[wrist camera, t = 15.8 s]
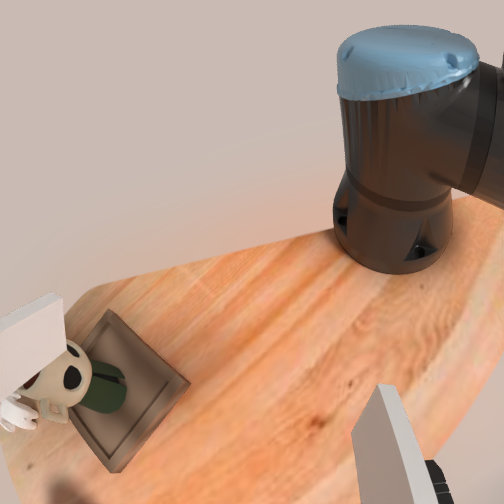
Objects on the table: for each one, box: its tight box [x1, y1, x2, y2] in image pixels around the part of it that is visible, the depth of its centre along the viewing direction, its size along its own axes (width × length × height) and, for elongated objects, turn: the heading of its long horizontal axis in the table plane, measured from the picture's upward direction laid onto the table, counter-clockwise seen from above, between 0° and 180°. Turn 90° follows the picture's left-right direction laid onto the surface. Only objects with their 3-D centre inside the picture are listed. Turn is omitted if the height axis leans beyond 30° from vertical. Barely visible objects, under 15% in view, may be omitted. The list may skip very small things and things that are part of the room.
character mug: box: [16, 339, 127, 424], centre depth 25 cm, size 11×7×13 cm, turn 20°
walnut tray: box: [67, 309, 191, 473], centre depth 30 cm, size 15×15×2 cm
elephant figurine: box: [0, 391, 39, 432], centre depth 29 cm, size 7×8×6 cm
